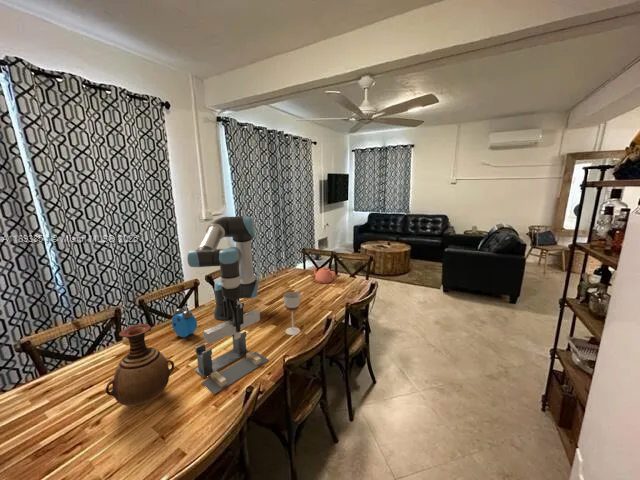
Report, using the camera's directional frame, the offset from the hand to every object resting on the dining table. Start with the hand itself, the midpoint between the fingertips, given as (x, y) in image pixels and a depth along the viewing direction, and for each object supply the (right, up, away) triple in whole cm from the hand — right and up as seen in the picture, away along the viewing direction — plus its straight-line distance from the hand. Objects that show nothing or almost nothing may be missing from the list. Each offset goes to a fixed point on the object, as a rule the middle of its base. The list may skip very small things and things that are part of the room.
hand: (234, 336), depth 119 cm
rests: (0, -17, +4) cm, 17 cm away
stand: (-9, -16, +10) cm, 21 cm away
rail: (0, +3, -1) cm, 3 cm away
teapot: (+40, +6, +116) cm, 123 cm away
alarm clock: (-38, -11, +33) cm, 51 cm away
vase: (-31, -21, -12) cm, 39 cm away
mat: (0, -17, +4) cm, 17 cm away
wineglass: (+22, -10, +37) cm, 44 cm away
